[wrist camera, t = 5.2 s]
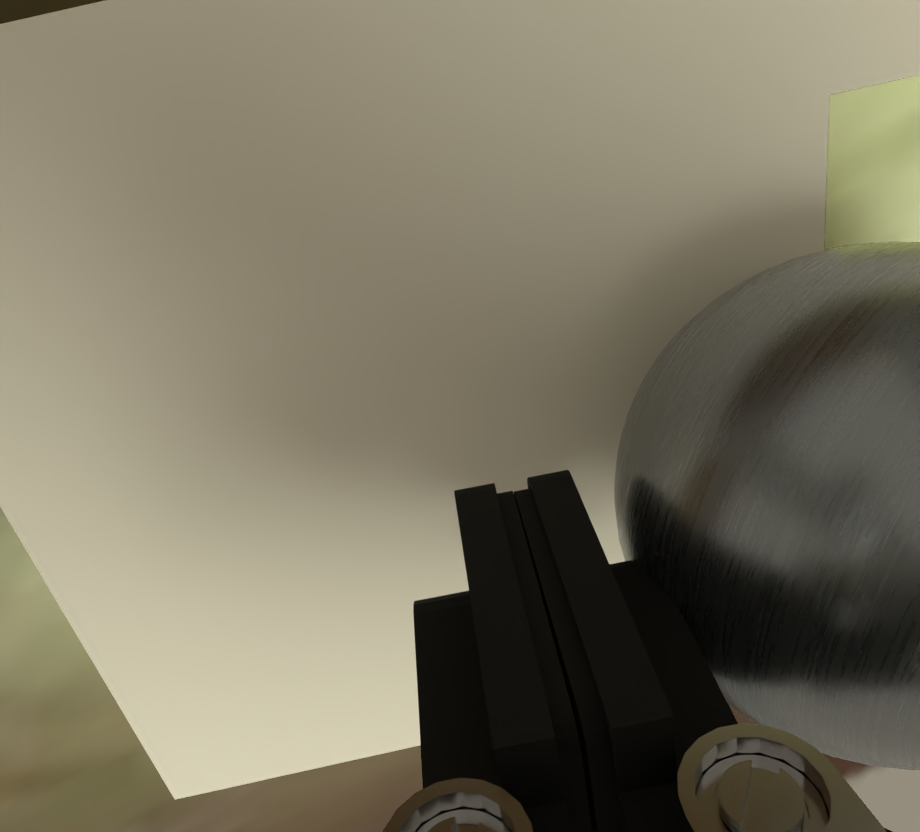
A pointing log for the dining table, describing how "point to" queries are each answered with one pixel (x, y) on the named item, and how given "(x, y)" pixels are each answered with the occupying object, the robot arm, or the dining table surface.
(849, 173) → the dining table surface
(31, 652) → the dining table surface
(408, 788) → the dining table surface
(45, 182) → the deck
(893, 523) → the ball
